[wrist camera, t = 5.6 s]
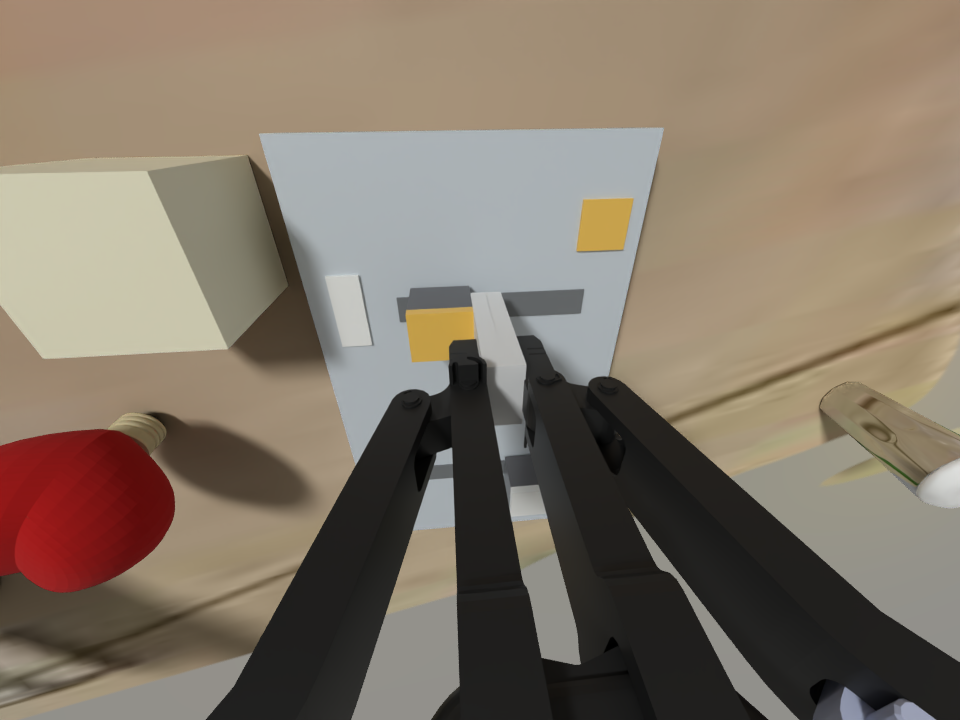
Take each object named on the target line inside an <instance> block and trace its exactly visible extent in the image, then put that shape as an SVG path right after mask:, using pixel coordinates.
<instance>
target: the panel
mask: <svg viewBox="0 0 960 720" xmlns="http://www.w3.org/2000/svg"><path fill="white" fill-rule="evenodd" d="M663 130H664V128H582V129H512V130H442V131H372V132H302V133H264V134H259V136H260V139H261V143H262V146H263V150H264V153H265V156H266V160H267V163H268V167H269V170H270V174H271V177H272V180H273V184H274V187H275V191H276V194H277V198H278V201H279V204H280V208H281V211H282V215H283V218H284V221H285V225H286V228H287V232H288V235H289V239H290V242H291V245H292V249H293V252H294V256H295V259H296V263H297V266H298V269H299V273H300V276H301V280H302V283H303V287H304V290H305V293H306V297H307V300H308V304H309V307H310V310H311V314H312V317H313V321H314V324H315V328H316V331H317V334H318V338H319V341H320V345H321V348H322V352H323V355H324V358H325V362H326V365H327V369H328V372H329V376H330V379H331V382H332V386H333V389H334V393H335V396H336V399H337V403H338V406H339V410H340V413H341V417H342V420H343V423H344V427H345V430H346V434H347V437H348V441H349V444H350V447H351V451H352V454H353V458H354V461H355V465H356V464H357V462H358V461H359V459H360V457H361V455H362V453H363V452H364V450H365V448H366V446H367V444H368V442H369V441H370V439H371V437H372V435H373V433H374V432H375V430H376V428H377V426H378V424H379V423H380V421H381V419H382V417H383V415H384V413H385V412H386V410H387V408H388V406H389V404H390V403H391V401H392V399H393V398H394V397H395V396H396V395H397V394H399V393H400V392H402V391H405V390H409V389H419V390H423V391H425V392H427V393H428V394H429V396H432V395H435V394H438V393H440V392H442V391H443V390H445V389H446V388H447V387H448V385H449V383H450V382H449V368H448V366H449V360H445V361H428V362H412V359H411V352H410V345H409V337H408V330H407V323H406V309H407V304H408V299H409V293H410V288H427V287H450V286H469V288H470V293H479V292H501V294H502V297H503V300H504V303H505V306H506V309H507V311H508V314H509V317H510V320H511V323H512V325H513V328H514V331H515V334H516V336H526V335H534V336H535V337H537V338H538V339H539V340H540V341H541V342H542V344H543V347H544V349H545V351H546V354H547V355H548V357H549V360H550V362H551V364H552V366H553V368H554V370H555V371H557V372H559V373H561V374H562V375H563V376H564V377H565V379H566V381H567V382H569V383H572V384H576V385H583V386H588V383H589V381H590V380H591V379H593V378H595V377H600V376H606V377H608V376H609V371H610V367H611V362H612V358H613V353H614V349H615V344H616V340H617V336H618V331H619V327H620V322H621V318H622V313H623V309H624V304H625V300H626V295H627V291H628V286H629V282H630V278H631V273H632V269H633V264H634V260H635V255H636V251H637V246H638V242H639V237H640V233H641V229H642V224H643V220H644V215H645V211H646V206H647V202H648V197H649V193H650V188H651V184H652V180H653V175H654V171H655V166H656V162H657V157H658V153H659V148H660V144H661V139H662V135H663ZM495 431H496V437H497V442H498V448H499V453H500V459H501V464H502V470H503V476H504V466H505V457H508V456H521V455H530V451H529V447H528V443H527V448H524V434H525V419H524V415H523V422H522V424H513V425H499V426H495ZM546 518H547V514H537V515H526V516H515V517H511V520H512V522H513V521H524V520H535V519H546ZM446 527H455V515H454V488H453V460H452V448H450V449H447V450H444V451H441V452H438V453H437V455H436V460H435V463H434V466H433V469H432V472H431V475H430V479H429V482H428V485H427V488H426V491H425V494H424V497H423V500H422V503H421V506H420V509H419V513H418V516H417V519H416V522H415V525H414V528H413V530H424V529H435V528H446Z"/></svg>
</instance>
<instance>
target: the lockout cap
mask: <svg viewBox="0 0 960 720" xmlns="http://www.w3.org/2000/svg"><path fill="white" fill-rule="evenodd" d="M288 286H289V285H288V282H287V279H286V276H285V273H284V270H283V266H282V263H281V260H280V257H279V254H278V251H277V247H276V244H275V241H274V238H273V235H272V232H271V228H270V225H269V222H268V219H267V216H266V212H265V209H264V206H263V203H262V200H261V197H260V193H259V190H258V187H257V184H256V181H255V178H254V174H253V171H252V168H251V165H250V162H249V159H248V155H232V156H178V157H123V158H85V159H74V160H64V161H53V162H43V163H32V164H22V165H11V166H0V305H1V306H2V308H3V309H4V310H5V311H6V313H7V314H8V315H9V316H10V318H11V319H12V320H13V321H14V323H15V324H16V325H17V326H18V328H19V329H20V330H21V331H22V333H23V334H24V335H25V336H26V338H27V339H28V340H29V341H30V343H31V344H32V345H33V346H34V348H35V349H36V350H37V351H38V353H39V354H40V355H41V356H42V358H43V359H53V358H72V357H91V356H109V355H128V354H147V353H165V352H184V351H202V350H221V349H229V348H230V347H231V346H232V345H233V344H234V343H235V342H236V340H237V339H238V338H239V337H240V336H241V335H242V334H243V333H244V332H245V331H246V330H247V329H248V328H249V327H250V326H251V325H252V324H253V323H254V321H255V320H256V319H257V318H258V317H259V316H260V315H261V314H262V313H263V312H264V311H265V310H266V309H267V308H268V307H269V306H270V305H271V304H272V303H273V301H274V300H275V299H276V298H277V297H278V296H279V295H280V294H281V293H282V292H283V291H284V290H285V289H286V288H287V287H288Z"/></svg>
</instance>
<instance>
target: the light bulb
mask: <svg viewBox="0 0 960 720" xmlns="http://www.w3.org/2000/svg"><path fill="white" fill-rule="evenodd" d="M165 437H166V429H165V427H164V425H163V424H162V423H161V422H160V421H159V420H158V418H156V417H155V416H153V415H146V414H142V413H127V414H124V415H122V416H121V417H120V418H119V419H118V420H116V421H115V422H114V424H112V425H111V426H110V427H109V428H108V429H107V430H104V429H94V430H81V431H70V432H62V433H55V434H48V435H43V436H38V437H33V438H28V439H23V440H19V441H15V442H12V443H8V444H5V445H2V446H0V576H4V575H9V574H14V573H19V572H22V573H23V575H24V576H25V577H26V578H27V579H29V580H30V581H32V582H33V583H34V584H36V585H37V586H39V587H41V588H43V589H46V590H49V591H53V592H61V593H63V592H74V591H79V590H82V589H86V588H89V587H92V586H95V585H98V584H101V583H103V582H106V581H108V580H110V579H112V578H114V577H116V576H118V575H120V574H122V573H123V572H125V571H126V570H128V569H130V568H131V567H133V566H134V565H135V564H137V563H138V562H140V561H141V560H142V559H144V558H145V557H146V556H147V555H148V554H150V553H151V552H152V551H153V550H154V549H155V548H156V547H157V545H158V544H159V543H160V542H161V540H162V539H163V537H164V536H165V534H166V532H167V531H168V529H169V527H170V525H171V523H172V521H173V517H174V512H175V497H174V492H173V489H172V487H171V484H170V482H169V480H168V478H167V477H166V475H165V474H164V472H163V471H162V470H161V468H160V467H159V466H158V465H157V464H156V462H155V461H154V460H153V459H152V458H151V457H150V455H151V453H152V452H153V451H154V449H156V448H157V446H158V445H159V444H160V443H161V442H162V441H163V440H164V439H165Z"/></svg>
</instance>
